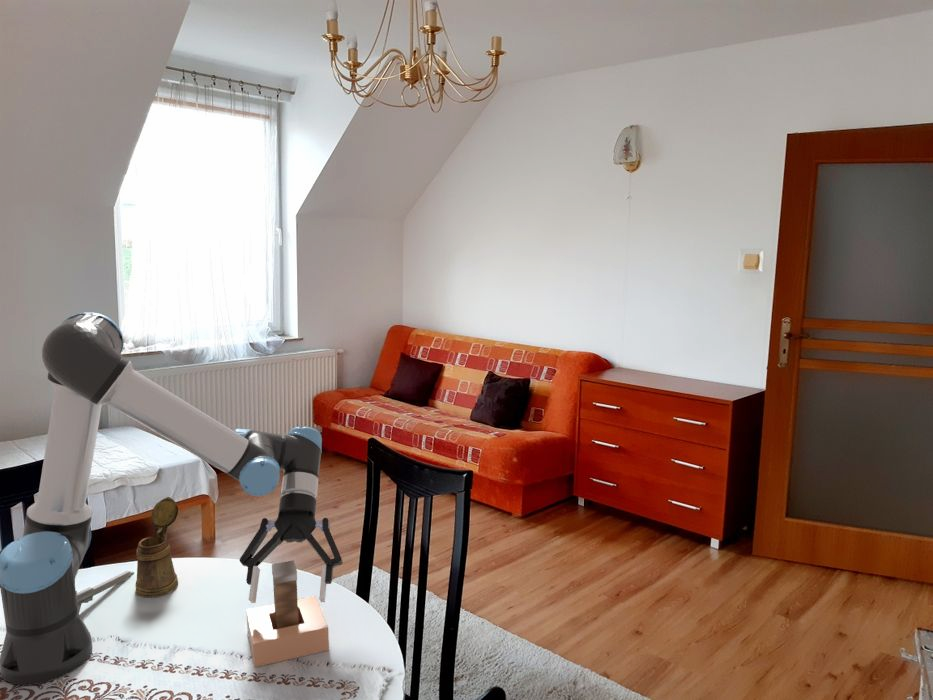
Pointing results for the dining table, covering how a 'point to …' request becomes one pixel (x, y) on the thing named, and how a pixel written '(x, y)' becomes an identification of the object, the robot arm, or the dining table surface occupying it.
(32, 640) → the robot arm
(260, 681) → the dining table surface
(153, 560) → the wooden mug
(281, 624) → the silver-capped wooden peg
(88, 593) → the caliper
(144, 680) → the dining table surface
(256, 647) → the terracotta holder
